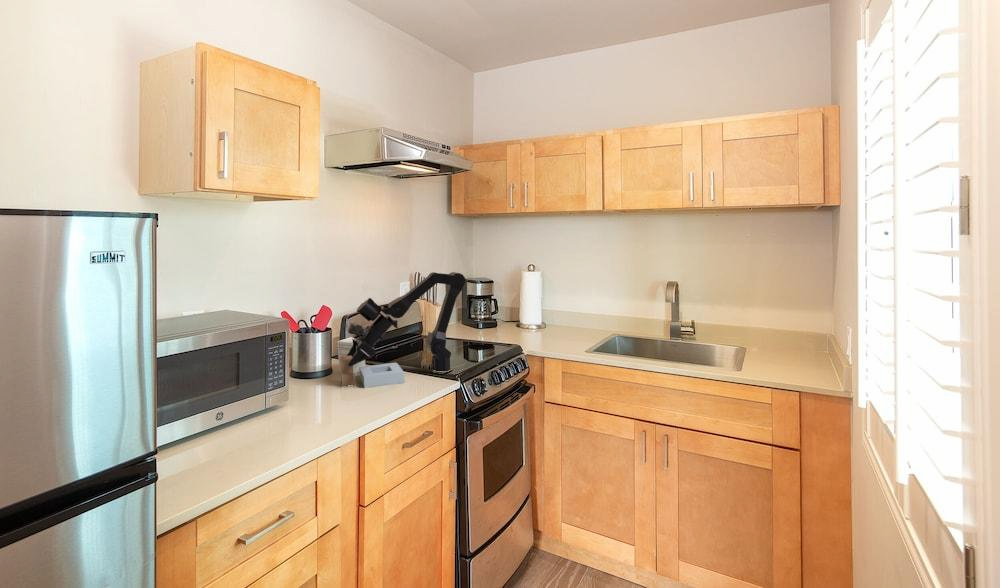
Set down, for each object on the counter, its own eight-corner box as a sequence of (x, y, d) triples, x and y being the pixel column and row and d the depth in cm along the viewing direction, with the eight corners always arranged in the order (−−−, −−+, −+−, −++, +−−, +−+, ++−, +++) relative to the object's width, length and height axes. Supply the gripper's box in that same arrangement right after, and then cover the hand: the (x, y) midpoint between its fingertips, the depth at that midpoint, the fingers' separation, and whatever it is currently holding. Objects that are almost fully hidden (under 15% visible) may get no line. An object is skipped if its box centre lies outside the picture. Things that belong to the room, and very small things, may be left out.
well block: (397, 372, 186) (396, 362, 186) (404, 382, 174) (404, 371, 173) (359, 377, 181) (359, 367, 180) (364, 388, 168) (364, 377, 168)
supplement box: (352, 367, 195) (350, 336, 193) (366, 369, 191) (364, 338, 190) (338, 372, 188) (336, 340, 186) (352, 374, 185) (351, 342, 183)
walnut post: (352, 382, 175) (351, 355, 174) (354, 385, 172) (352, 358, 170) (341, 383, 174) (339, 356, 172) (342, 386, 170) (340, 359, 169)
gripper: (357, 311, 180) (328, 343, 177) (364, 319, 163) (331, 354, 160) (379, 330, 184) (351, 361, 181) (388, 339, 167) (357, 374, 164)
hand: (347, 362), depth 172 cm, fingers open, 9 cm apart
